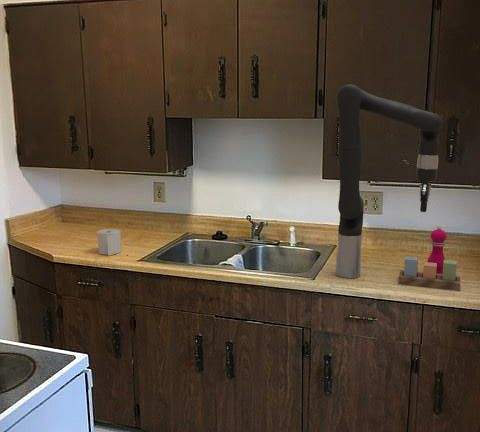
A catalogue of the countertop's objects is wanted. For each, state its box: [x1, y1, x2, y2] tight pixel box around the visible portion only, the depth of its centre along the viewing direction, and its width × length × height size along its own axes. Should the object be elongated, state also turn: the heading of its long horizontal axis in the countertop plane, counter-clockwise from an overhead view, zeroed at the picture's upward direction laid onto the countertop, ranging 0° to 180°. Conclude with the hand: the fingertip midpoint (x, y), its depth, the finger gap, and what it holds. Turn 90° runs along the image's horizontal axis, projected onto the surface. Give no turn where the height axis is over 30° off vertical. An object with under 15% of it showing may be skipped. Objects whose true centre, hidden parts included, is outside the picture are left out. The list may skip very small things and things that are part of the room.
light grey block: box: [96, 228, 122, 257], centre depth 255 cm, size 11×12×10 cm
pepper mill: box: [426, 225, 447, 274], centre depth 219 cm, size 7×7×20 cm
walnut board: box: [397, 269, 461, 292], centre depth 209 cm, size 22×9×3 cm, turn 68°
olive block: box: [442, 259, 458, 281], centre depth 206 cm, size 5×5×7 cm
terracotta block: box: [422, 261, 437, 279], centre depth 208 cm, size 5×5×7 cm
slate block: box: [403, 256, 419, 277], centre depth 211 cm, size 5×5×7 cm
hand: (423, 211), depth 208 cm, fingers closed
